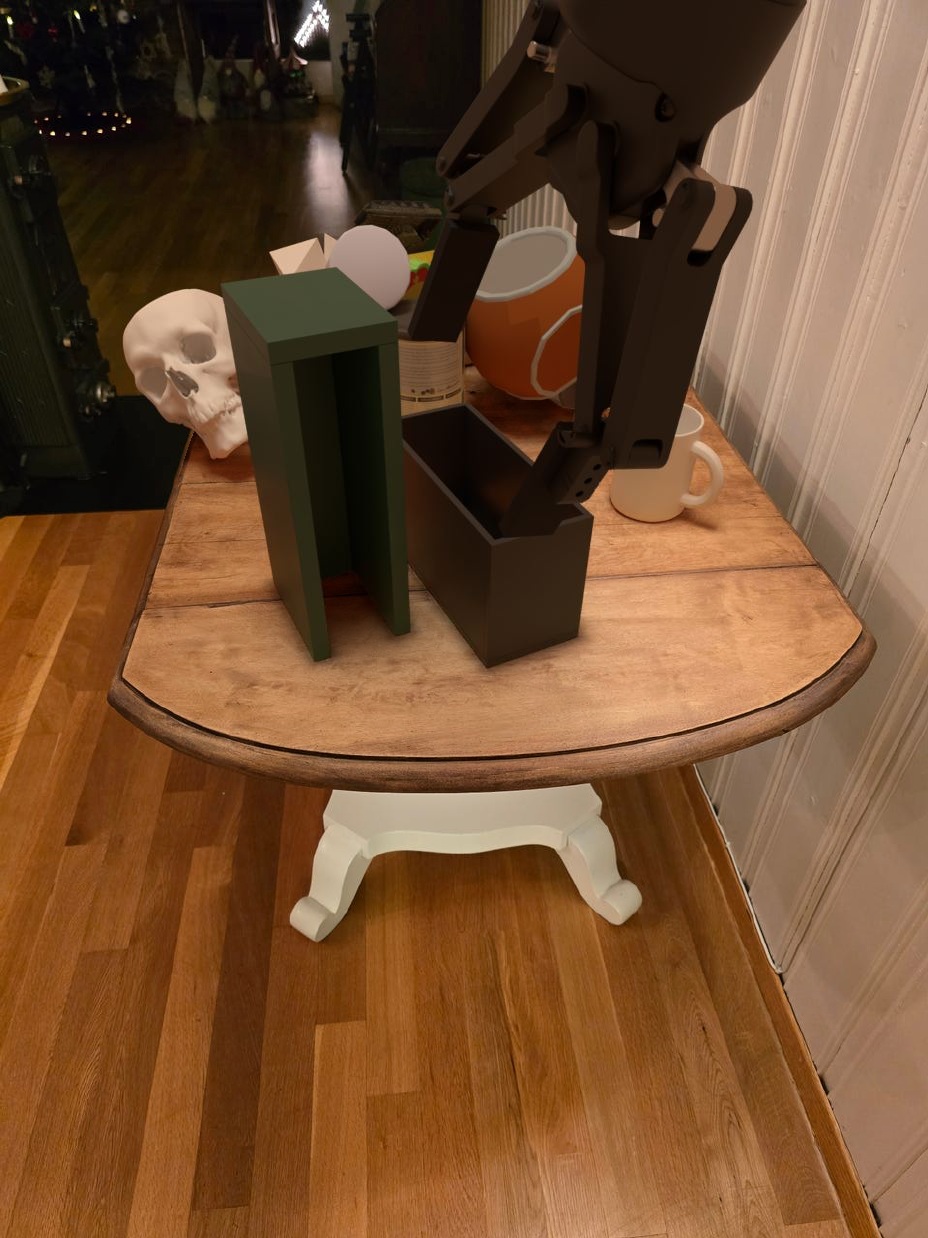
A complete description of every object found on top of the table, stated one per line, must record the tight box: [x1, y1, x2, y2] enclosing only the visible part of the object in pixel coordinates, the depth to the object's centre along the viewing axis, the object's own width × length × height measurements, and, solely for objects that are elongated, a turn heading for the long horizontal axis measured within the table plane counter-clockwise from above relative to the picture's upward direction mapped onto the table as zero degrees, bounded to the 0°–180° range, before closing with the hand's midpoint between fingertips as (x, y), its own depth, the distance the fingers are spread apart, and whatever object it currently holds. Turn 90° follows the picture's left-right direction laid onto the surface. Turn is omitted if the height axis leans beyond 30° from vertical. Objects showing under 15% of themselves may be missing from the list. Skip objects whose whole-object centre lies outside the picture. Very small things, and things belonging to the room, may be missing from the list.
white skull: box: [122, 288, 248, 460], centre depth 96 cm, size 14×20×19 cm
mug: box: [609, 403, 725, 523], centre depth 86 cm, size 12×8×10 cm
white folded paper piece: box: [269, 232, 338, 275], centre depth 120 cm, size 19×15×26 cm
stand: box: [220, 267, 412, 662], centre depth 67 cm, size 12×9×28 cm
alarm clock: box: [465, 225, 585, 401], centre depth 98 cm, size 19×18×17 cm
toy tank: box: [322, 199, 444, 255], centre depth 134 cm, size 14×28×10 cm
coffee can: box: [387, 298, 467, 416], centre depth 98 cm, size 10×10×14 cm
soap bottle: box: [325, 225, 411, 310], centre depth 101 cm, size 9×9×25 cm
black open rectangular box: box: [402, 401, 595, 669], centre depth 75 cm, size 22×9×13 cm, turn 27°
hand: (475, 426), depth 42 cm, fingers open, 13 cm apart
